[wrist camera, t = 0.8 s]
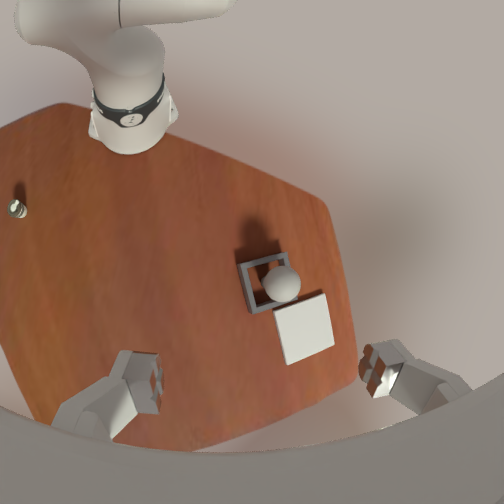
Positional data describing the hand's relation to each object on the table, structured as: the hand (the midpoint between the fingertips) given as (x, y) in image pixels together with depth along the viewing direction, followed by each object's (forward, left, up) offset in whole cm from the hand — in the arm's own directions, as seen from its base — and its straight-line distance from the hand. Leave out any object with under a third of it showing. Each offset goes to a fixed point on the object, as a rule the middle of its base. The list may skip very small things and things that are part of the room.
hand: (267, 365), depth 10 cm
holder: (+3, +15, -41) cm, 44 cm away
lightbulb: (+3, +15, -41) cm, 44 cm away
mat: (+15, +21, -41) cm, 49 cm away
